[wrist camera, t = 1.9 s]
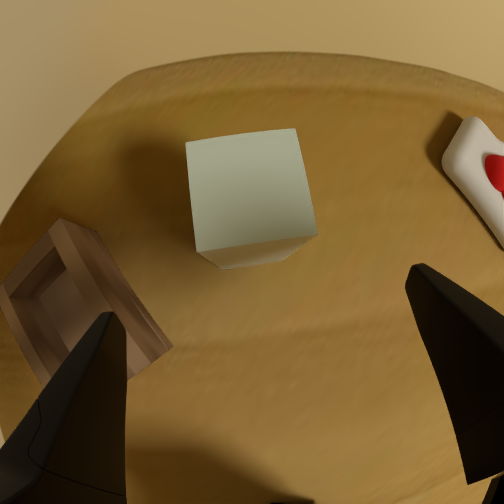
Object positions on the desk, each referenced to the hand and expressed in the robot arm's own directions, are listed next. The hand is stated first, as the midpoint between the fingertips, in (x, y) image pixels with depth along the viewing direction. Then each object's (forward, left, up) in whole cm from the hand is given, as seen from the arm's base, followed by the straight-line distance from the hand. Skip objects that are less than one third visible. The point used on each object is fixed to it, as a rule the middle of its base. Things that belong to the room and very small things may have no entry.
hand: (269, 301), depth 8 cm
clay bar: (+3, +2, -11) cm, 12 cm away
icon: (+16, -19, -12) cm, 27 cm away
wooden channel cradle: (-6, +11, -11) cm, 16 cm away
